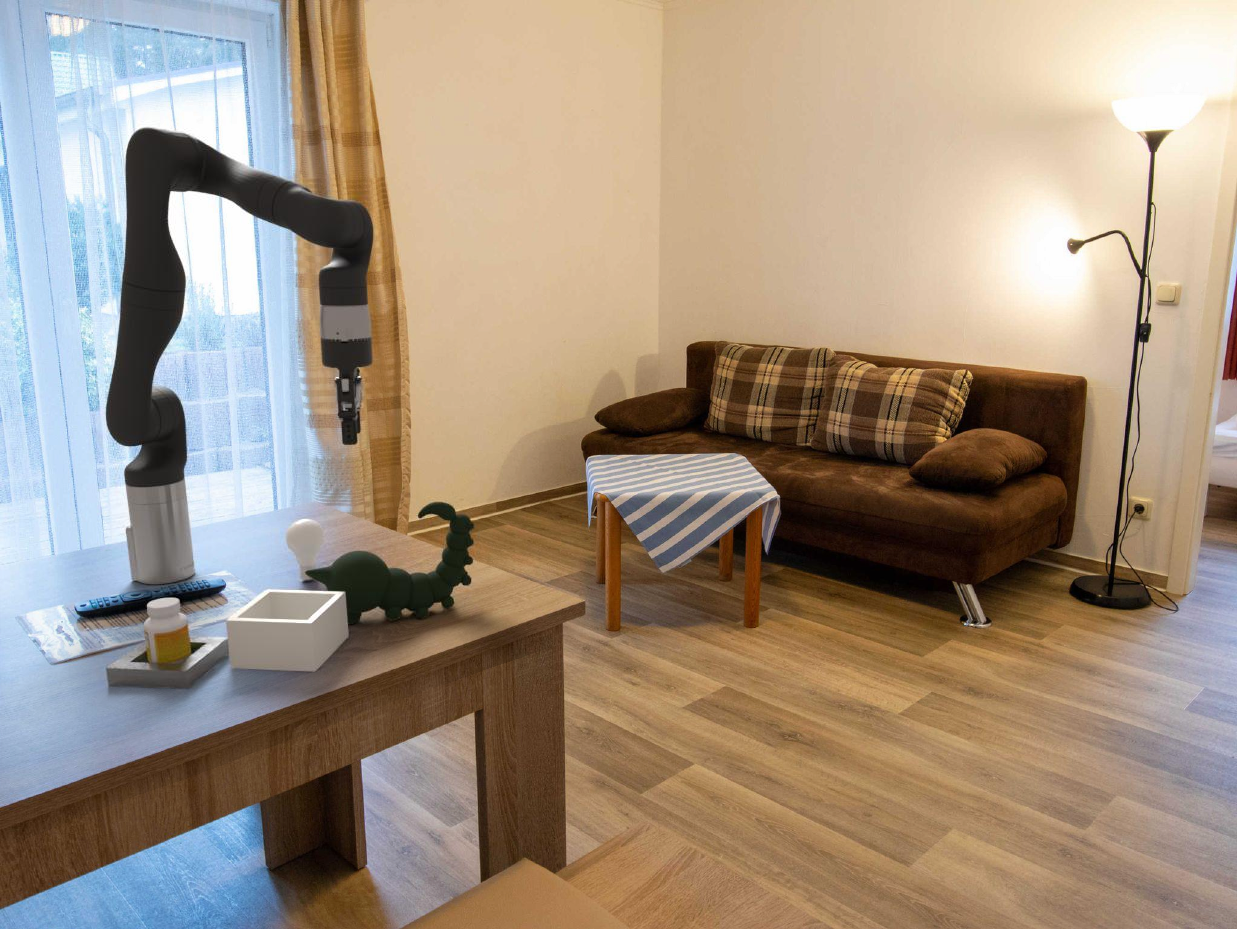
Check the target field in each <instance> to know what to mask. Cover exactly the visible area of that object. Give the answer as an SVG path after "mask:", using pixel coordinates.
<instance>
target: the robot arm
mask: <svg viewBox="0 0 1237 929" xmlns="http://www.w3.org/2000/svg"><path fill="white" fill-rule="evenodd" d="M126 147H127V148H126V151H125V152H126V153H125V165H124V166H125V167H124V168H125V172H124V173H125V197H126V198H125V199H126V200H125V202H126V206H125V207H126V209H125V210H126V221H125V222H126V225H125V241H124V242H125V245H124V246H125V248H124V262H123V270H122V276H121V288H120V289H121V291H120V303H119V304H120V305H119V306H120V308H119V325H118V332H117V341H116V349H115V358H114V364H113V369H112V374H111V379H110V383H109V387H108V392H107V398H106V406H105V422H106V427H107V429H108V432H109V435H110V436H111V437H112V438H113V440H114V441H115V442H116V443H117V444H119V445H121V446H124V447H130V448H131V447H138V446H139V447H140V449H139V451H138V454H137V455H136V456H135V457H134V459H132V461H131V462H129V463H128V464H127V465H126V466H125V468H124V471H123V476H124V484H125V490H126V492H125V493H126V500H127V507H128V508H127V509H128V514H129V523H130V525H128V526H126V527H125V537H126V543H127V544H126V545H127V551H128V552H127V553H128V561H129V567H130V575H131V577H130V578H131V581H134V582H139V583H142V584H145V585H163V584H171V583H175V582H180V581H183V580H185V579H188V578H190V577H192V576H194V575H195V573H196V569H195V568H196V567H195V560H194V550H193V541H192V533H191V530H192V529H191V525H190V524H191V522H190V514H189V505H188V504H189V503H188V495H187V487H186V486H187V485H186V478H185V476H186V475H185V467H186V465H187V461H188V443H187V426H186V416H185V410H184V406H183V404H182V401H181V400H180V398H179V396H178V394H177V393H175V391H173V390H172V389H171V388H169V387H166V386H162V385H154V384H153V383H154V378H155V373H156V369H157V366H158V365H159V364H158V363H159V361H160V359H161V357H162V356H163V354H164V352H165V350H166V349H167V347H168V346H169V344H170V343H171V340H173V338H174V336H175V334H176V332H177V330H178V328H179V327H180V324H181V321H182V318H183V313H184V306H185V298H186V297H185V296H186V288H187V277H186V271H185V268H184V265H183V262H182V259H181V257H180V255H179V253H178V250H177V248H176V246H175V243H174V241H173V238H172V235H171V231H170V226H169V210H170V209H169V207H170V206H169V205H170V197H171V192H177V193H186V192H193V193H194V192H196V193H203V194H207V195H212V196H217V197H220V198H223V199H225V200H228V201H230V202H232V203H233V204H235V205H236V206H237V207H239V208H240V209H241V210H243V211H245V212H246V213H248V214H249V215H251V216H253V217H255V218H258V219H260V220H262V221H265V222H267V223H270V224H272V225H276V226H278V227H280V228H283V229H287V230H289V231H291V232H292V233H294V234H295V235H296V236H299V237H300V238H302V239H303V240H304V241H305V240H306V241H307V242H308V243H311V244H314V245H317V246H319V247H322V248H328V249H329V248H330V249H332V252H331V261H330V262H329V264H326V265H325V266H322V268H321V269H320V270H319V271H318V293H319V304H320V305H319V322H318V323H319V336H320V350H321V353H320V354H321V363H322V365H323V367H325V368H330V369H331V368H332V369H337V370H338V376H337V377H335V379H334V385H333V386H334V390H335V394H336V395H335V402H336V407H337V417H338V419H339V421H340V423H341V424H340V426H341V427H340V428H341V439H342V440H341V441H342V445H344V446H353V445H357V444H358V440H359V439H358V434H361V430H362V429H361V428H362V427H361V408H362V401H363V385H364V384H363V382H364V381H363V377H362V376H360V374H361V369H360V368H366V367H369V366H371V365H372V364H373V360H374V358H373V343H372V341H373V339H372V323H371V322H372V321H371V315H370V310H369V309H370V308H369V299H368V298H369V297H368V282H367V277H368V276H367V275H368V269H369V267H370V262H371V256H372V251H373V249H372V248H373V243H374V224H373V221H372V217H371V215H370V212H369V211H368V209H367V208H366V207H365V206H364V205H363V204H362V203H360V202H358V201H357V200H351V199H337V198H336V199H335V198H329V197H325V196H322V195H321V196H320V195H318V194H315V193H313V192H312V191H311V190H310V188H308V187H306V186H304V185H302V184H300V183H298V182H296V181H293V180H290V179H287V178H285V177H282V176H279V175H276V174H274V173H271V172H268V171H264V170H261V169H259V168H256V167H253V166H250V165H248V164H245V163H242V162H240V161H238V160H236V159H234V158H231V157H230V156H227V155H226V154H224V153H223V152H221V151H219V150H218V149H215V148H214V147H212V146H211V145H210V144H208V143H206V142H204V141H202V140H200V139H199V138H197V137H195V136H194V135H191V134H190V133H187V132H184V131H179V130H173V129H172V130H171V129H166V128H160V127H152V126H144V127H140V128H138V129H137V130H136V131H134V133H132V134H131V136H130V138H129V141H128V143H127V146H126ZM153 385H154V386H153Z"/></svg>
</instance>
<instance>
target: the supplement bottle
mask: <svg viewBox="0 0 1237 929" xmlns="http://www.w3.org/2000/svg"><path fill="white" fill-rule="evenodd" d="M180 602H181V601H180V599H179V598H176V597H163V598H162V597H161V598H157V599H153V600H151V601H149V602H148V603H147V604H146V608H147V609H146V612H147V615H148V618H147V619H146V620H144V623H143V633H144V639H145V642H146V650H147V658H148V663H165V664H180V663H182V662H183V661H184V660H186V659H187V658H188V657H189V656H191V647H190V638H189V636H190V631H189V622H188V617H187V616H186V615H185V614H184V613H182V612H180V611H181V603H180Z"/></svg>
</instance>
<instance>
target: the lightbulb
mask: <svg viewBox="0 0 1237 929" xmlns="http://www.w3.org/2000/svg"><path fill="white" fill-rule="evenodd" d="M324 530H325V529H324V528H323V527H322V525H321V524H320V523H319V522H318V521H316V520H314V519H312V518H311V519H310V518H301V519H297V520H296V521H294V522H293V523H291V525H289V527H288V528H287V530H286V533H285V542H286V545H287V547H288V549H289V551H291V552H292V554H294V556H295V558H296V562H297V564H298V565H299V572H300V579H301V580H303V581H305V582H312V581H313V580H314V579H313V578H311V577H309V576H307V575H306V574H305V572H306V571H307V570H312V569H317V561H318V557H319V553H320V551H321V549H322V547H323V546H324V544H325V539H326V535H325V534H326V533H325V531H324Z"/></svg>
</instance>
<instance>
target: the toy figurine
mask: <svg viewBox="0 0 1237 929" xmlns="http://www.w3.org/2000/svg"><path fill="white" fill-rule="evenodd" d="M428 515H433V516H434V515H435V516H438V517H439V518H440V519H443V521H447V522H449V531H448V532H447V534H446V536H445V543H446V544H445V545H446V546H445V548H443V550H442V553H441V561H440V562H438V564H437V565H436V566H435V570H431V571H430V572H428V573H425V572H418V571H417V572H413V573H409V572H408V571H407V570H404V569H402V568H399V567H390V568H389V566H388V564H386V562H385V561H384V560H383V559H382V558H381V557H380V556H378V555H377V554H375V553H372V552H369V551H367V550H353V551H349V552H346V553H344V554H341V555H340V556H339V557H338V558H337V559H336V560H335V561H334V562H333V563H332V564H331V565H329V566H324V567H319V568H318V567H316V569H312V570H307V571H306V572H305V574H306V575H307V576H309V577H311V578H313V580H315V581H317V582H318V583H320V584H322V585H323V586H325V587H326V591H338V592H345V594H346V608H347V622H348V624H349V625H354V624H356V623H357V622H359V621H360V620H361V618H362V614H363V613H367V612H370V611H372V610H375V609H376V608H379V609H380V610H382V611H384V614H385V615H384V616H385V617H386V619H389V620H390V621H391V622H393V621H397V620H399V619H400V617H401V616H402V615H403V612H402V611H403V610H405V609H406V610H408V611H409V612H414V613H415V616H416V617H417V618H418V619H422V618H424V619H425V618H427V617H428V616H429V612H430V610H429V609H430V608H432V607H433V605H434V604H439V603H441V607H443V608H445V609H447V610H448V609H450V608H452V607H453V606H454V604H455V599H454V597H453V596H452V594H453V591H454V588H456V587H458V586H459V585H460V584H461V585H462V586H466V587H467V586H469V585H471V583H472V577H471V576H470V574H469V573H468V572H467V570H466V568H465V567H466V566H471V565H472V564H474V559H473V557H472V556H470V554H469V550H468V549H469V548H470V547H471V546H472V547H473V545H474V543H475V540H474V538H472V536H471V533H470V531H472V530H474V529H475V523H474V522H472V520H471V518H470V516H468V515H466V514H464V513H458V514H457V512H456V509H455V507H454V506H453V505H451V504H450V503H447V502H444V501H433V502H429V503H428V504H426V505H425V506H424V507H422V508H421V509H420V511H419V512H418V514H417V517H418V519H422V518H424V517H425V516H428Z"/></svg>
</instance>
